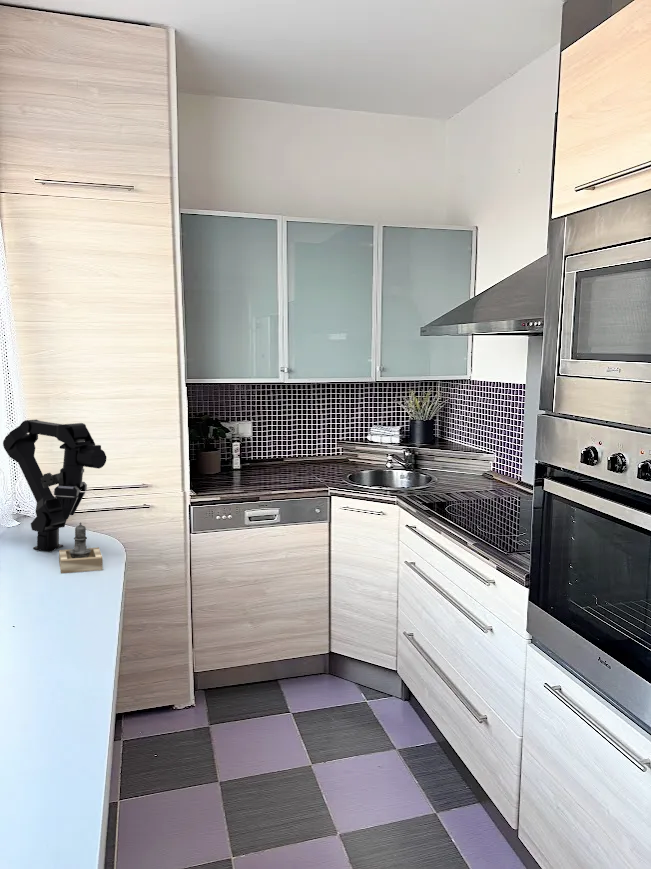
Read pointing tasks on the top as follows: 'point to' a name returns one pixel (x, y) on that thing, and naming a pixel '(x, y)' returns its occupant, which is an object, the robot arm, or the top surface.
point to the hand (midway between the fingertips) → (68, 517)
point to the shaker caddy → (80, 561)
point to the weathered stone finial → (80, 543)
